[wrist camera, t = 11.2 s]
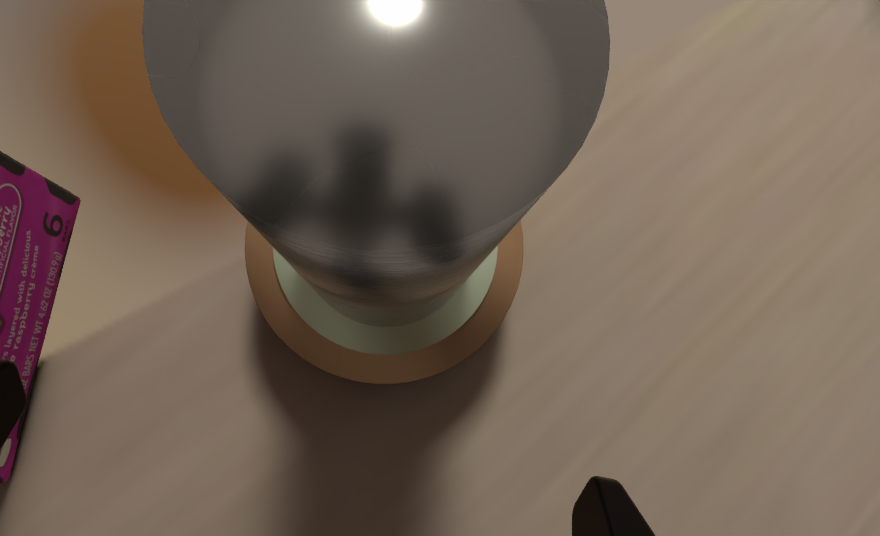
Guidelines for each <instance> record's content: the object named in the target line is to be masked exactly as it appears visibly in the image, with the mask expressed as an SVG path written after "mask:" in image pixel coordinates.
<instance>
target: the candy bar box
mask: <svg viewBox="0 0 880 536" xmlns="http://www.w3.org/2000/svg"><path fill="white" fill-rule="evenodd" d="M79 205H80V198H78V197H77V196H75V195H74V194H72V193H71V192H69V191H68V190H66V189H64V188H62V187H60V186H59V185H57V184H55V183H53V182H52V181H50V180H48V179H47V178H45V177H43V176H42V175H40V174H38V173H37V172H35V171H33V170H32V169H30V168H28V167H26V166H25V165H23V164H21V163H19V162H18V161H16V160H14V159H13V158H11V157H9V156H8V155H6V154H4V153H2V152H1V151H0V359H5V360H10V361H13V362H14V363H15V364H16V365H17V367H18V370H19V373H20V377H21V380H22V383H23V386H24V389H25V393H26V397H27V401H26V406H25V409H24V412H23V414H22V415H21V417H20V419H19V420H18V422H17V424H16V425H15V427H14V429H13V430H12V432H11V434H10V435H9V437H8V438H7V440H6V442H5V443H4V445H3V447H2V448H1V450H0V484H1V483H4V482H6V481H7V480H8V479H9V476H10V473H11V469H12V465H13V461H14V456H15V452H16V448H17V444H18V440H19V436H20V432H21V428H22V424H23V421H24V417H25V413H26V409H27V405H28V400H29V396H30V393H31V389H32V384H33V381H34V377H35V373H36V369H37V364H38V360H39V357H40V353H41V349H42V346H43V342H44V339H45V334H46V330H47V326H48V323H49V319H50V315H51V311H52V307H53V303H54V299H55V295H56V291H57V287H58V284H59V280H60V277H61V273H62V268H63V265H64V261H65V257H66V253H67V249H68V245H69V242H70V238H71V235H72V231H73V227H74V223H75V219H76V215H77V212H78V208H79Z"/></svg>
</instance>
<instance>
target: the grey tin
mask: <svg viewBox="0 0 880 536" xmlns="http://www.w3.org/2000/svg"><path fill="white" fill-rule="evenodd" d="M142 34H143V45H144V58H145V64H146V68H147V72H148V76H149V80H150V84H151V88H152V91H153V94H154V96H155V99H156V101H157V104H158V106H159V109H160V111H161V114H162V116H163V118H164V120H165V122H166V123H167V125H168V127H169V128H170V130H171V132H172V134H173V135H174V137H175V139H176V141H177V142H178V144H179V145H180V147H181V148H182V149H183V150H184V152H185V153H186V154H187V155H188V157H189V158H190V159H191V160H192V162H193V163H194V164H195V165H196V166H197V168H198V169H199V170H200V171H201V172H202V173H203V174H204V175H205V177H206V178H207V179H208V180H209V181H210V182H211V183H212V184H213V185H214V186H215V187H216V188H217V189H218V190H219V191H220V192H221V193H222V194H223V195H224V196H225V197H226V198H227V199H228V201H229V202H230V203H232V205H233V206H234V207H235V208H236V209H237V210H238V211H239V212H240V213H241V214H242V215H243V216H244V217H245V218H246V219H247V220H248V221H249V223H250V224H251V225H252V226H253V227H254V228H255V229H256V230H257V231H258V232H259V233H260V234H261V235H262V236H263V237H264V238H265V239H266V240H267V241H268V242H269V243H270V244H271V246H272V247H273V248H274V249H275V250H276V251H277V252H278V253H279V254H280V255H281V256H282V257H283V258H284V259H285V260H286V261H287V262H288V263H289V264H290V265H291V266H292V267H293V269H294V270H295V271H296V272H297V273H298V274H299V275H300V276H301V277H302V278H303V279H304V280H305V281H306V282H307V283H308V284H309V285H310V286H311V287H312V288H313V289H314V290H315V292H316V293H317V294H318V295H319V296H320V297H321V298H322V299H323V300H324V301H325V302H326V303H327V304H328V305H329V306H330V307H332V308H333V309H334V310H336V311H337V312H338V313H340V314H342V315H343V316H345V317H347V318H349V319H351V320H354V321H356V322H359V323H362V324H366V325H370V326H378V327H396V326H402V325H407V324H411V323H414V322H417V321H419V320H422V319H424V318H426V317H428V316H429V315H431V314H433V313H434V312H436V311H437V310H438V309H440V308H441V307H442V306H443V305H445V303H446V302H447V301H448V300H449V299H450V298H451V297H452V296H453V295H454V294H455V293H456V292H457V290H458V289H459V288H460V287H461V286H462V285H463V284H464V283H465V281H466V280H467V279H468V278H469V277H470V276H471V275H472V274H473V272H474V271H475V270H476V269H477V268H478V267H479V266H480V265H481V263H482V262H483V261H484V260H485V259H486V258H487V257H488V256H489V254H490V253H491V252H492V251H493V250H494V249H495V248H496V247H497V245H498V244H499V243H500V242H501V241H502V240H503V239H504V238H505V236H506V235H507V234H508V233H509V232H510V231H511V230H512V229H513V227H514V226H515V225H516V224H517V223H518V222H519V221H520V220H521V218H522V217H523V216H524V215H525V214H526V213H527V212H528V211H529V209H530V208H531V207H532V206H533V205H534V204H535V203H536V202H537V201H538V199H539V198H540V197H541V196H542V195H543V194H544V193H545V192H546V190H547V189H548V188H549V187H550V186H551V185H552V184H553V183H554V181H555V180H556V179H557V178H558V177H559V176H560V175H561V174H562V172H563V171H564V170H565V169H566V168H567V166H568V165H569V164H570V162H571V161H572V159H573V158H574V156H575V155H576V154H577V152H578V151H579V149H580V148H581V147H582V145H583V143H584V141H585V139H586V137H587V135H588V133H589V131H590V129H591V127H592V125H593V123H594V122H595V119H596V116H597V113H598V110H599V107H600V104H601V101H602V99H603V96H604V91H605V86H606V80H607V75H608V70H609V52H610V38H609V26H608V16H607V11H606V7H605V2H604V0H145V1H144V12H143V28H142Z"/></svg>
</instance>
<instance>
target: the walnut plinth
mask: <svg viewBox="0 0 880 536" xmlns="http://www.w3.org/2000/svg"><path fill="white" fill-rule="evenodd" d="M245 260H246V269H247V274H248V278H249V283H250V286H251V289H252V292H253V295H254V297H255V300H256V303H257V305H258V306H259V308H260V310H261V312H262V314H263V316H264V318H265V319H266V321H267V322H268V324H269V325H270V326H271V328H272V329H273V330H274V332H275V333H276V334H277V335H278V336H279V338H280V339H281V340H282V341H283V342H284V343H285V344H286V345H287V346H288V347H289V348H290V349H292V350H293V351H294V352H295V353H297V354H298V355H299V356H300V357H302V358H303V359H304V360H306V361H308V362H309V363H311V364H313V365H314V366H316V367H318V368H320V369H322V370H324V371H326V372H329V373H331V374H333V375H336V376H338V377H342V378H346V379H349V380H353V381H357V382H365V383H372V384H397V383H405V382H412V381H416V380H420V379H423V378H427V377H431V376H433V375H436V374H438V373H440V372H443V371H445V370H448V369H450V368H451V367H453V366H455V365H456V364H458V363H460V362H461V361H463V360H465V359H466V358H467V357H469V356H470V355H471V354H472V353H474V352H475V351H476V350H477V349H479V348H480V347H481V346H482V345H483V344H484V343H485V342H486V341H487V340H488V339H489V337H490V336H491V335H492V334H493V333H494V331H495V330H496V329H497V327H498V326H499V325H500V323H501V322H502V321H503V319H504V317H505V315H506V313H507V312H508V310H509V308H510V306H511V304H512V301H513V299H514V296H515V294H516V291H517V289H518V284H519V280H520V276H521V272H522V263H523V233H522V227H521V221H519V222H518V223H517V224H516V225H515V226H514V227H513V229H512V230H511V231H510V232H509V233H508V234H507V235H506V236H505V238H504V239H503V240H502V241H501V242H500V243H499V244H498V245H497V247H496V248H495V249H494V250H493V251H492V252H491V253H490V254H489V256H488V257H487V258H486V259H485V260H484V261H483V262H482V263H481V265H480V266H479V267H478V268H477V269H476V270H475V271H474V272H473V274H472V275H471V276H470V277H469V278H468V279H467V280H466V281H465V283H464V284H463V285H462V286H461V287H460V288H459V289H458V290H457V292H456V293H455V294H454V295H453V296H452V297H451V298H450V299H449V300H448V301H447V302H446V303H445V305H443V306H442V307H441V308H440V309H438V310H437V311H436V312H434V313H433V314H431V315H429V316H428V317H426V318H424V319H422V320H419V321H417V322H414V323H411V324H407V325H402V326H396V327H378V326H370V325H366V324H362V323H359V322H356V321H354V320H351V319H349V318H347V317H345V316H343V315H342V314H340V313H338V312H337V311H336V310H334V309H333V308H332V307H330V306H329V305H328V304H327V303H326V302H325V301H324V300H323V299H322V298H321V297H320V296H319V295H318V294H317V293H316V292H315V290H314V289H313V288H312V287H311V286H310V285H309V284H308V283H307V282H306V281H305V280H304V279H303V278H302V277H301V276H300V275H299V274H298V273H297V272H296V271H295V270H294V269H293V267H292V266H291V265H290V264H289V263H288V262H287V261H286V260H285V259H284V258H283V257H282V256H281V255H280V254H279V253H278V252H277V251H276V250H275V249H274V248H273V247H272V246H271V244H270V243H269V242H268V241H267V240H266V239H265V238H264V237H263V236H262V235H261V234H260V233H259V232H258V231H257V230H256V229H255V228H254V227H253V226H252V225H251V224H250V223H249V221H248V223H247V227H246V237H245Z"/></svg>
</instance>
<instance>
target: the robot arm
mask: <svg viewBox="0 0 880 536" xmlns="http://www.w3.org/2000/svg"><path fill="white" fill-rule="evenodd" d="M26 401H27V397H26V393H25V389H24V386H23V383H22V380H21V377H20V373H19V370H18V367H17V365H16V364H15V363H14V362H13V361H10V360H5V359H0V450H1V448H2V447H3V445H4V443H5V442H6V440H7V438H8V437H9V435H10V434H11V432H12V430H13V429H14V427H15V425H16V424H17V422H18V420H19V419H20V417H21V415H22V414H23V412H24V409H25V406H26ZM572 536H655V534H654V533H653V531H652V530H651V528H650V527H649V525H648V524H647V522H646V521H645V519H644V518H643V516H642V515H641V513H640V512H639V510H638V509H637V507H636V506H635V504H634V503H633V501H632V500H631V498H630V497H629V495H628V494H627V492H626V491H625V489H624V488H623V486H622V485H621V484H620V483H619V482H618V481H617V480H614V479H610V478H605V477H600V476H593V477H592V478H590V480H589V481H588V483H587V484H586V486H585V488H584V489H583V491H582V493H581V494H580V496H579V498H578V499H577V501H576V503H575V505H574V508H573V513H572Z"/></svg>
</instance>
